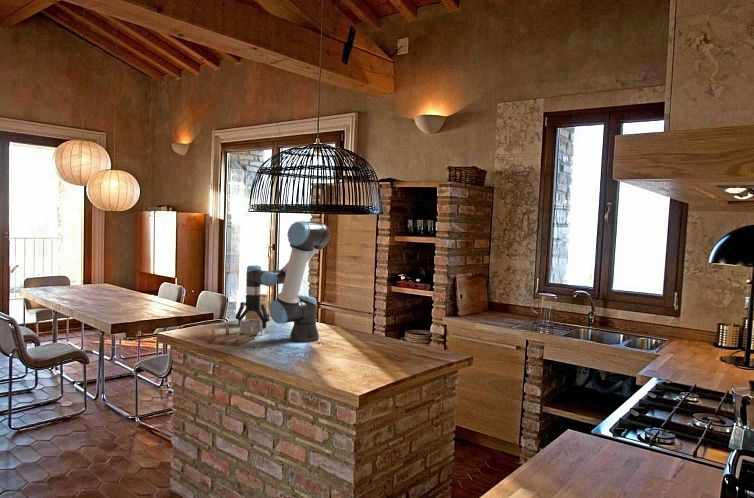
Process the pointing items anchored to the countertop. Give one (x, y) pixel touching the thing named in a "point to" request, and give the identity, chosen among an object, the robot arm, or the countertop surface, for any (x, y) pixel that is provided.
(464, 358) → the countertop surface
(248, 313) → the container
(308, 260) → the robot arm
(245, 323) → the teacup
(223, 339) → the rack
